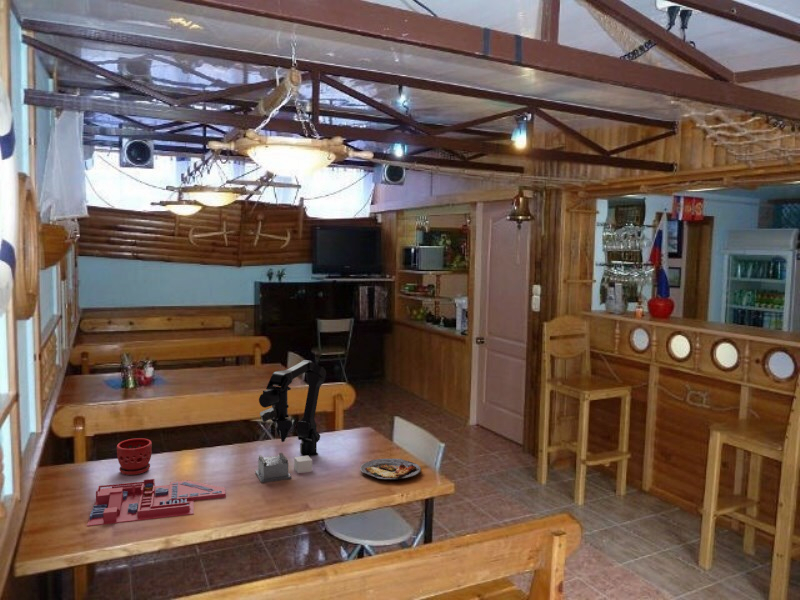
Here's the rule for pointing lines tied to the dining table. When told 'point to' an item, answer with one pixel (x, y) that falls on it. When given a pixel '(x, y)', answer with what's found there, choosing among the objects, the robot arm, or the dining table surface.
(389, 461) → the food plate
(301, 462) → the plain white cube
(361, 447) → the dining table surface
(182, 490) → the red architectural model
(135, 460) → the plant pot
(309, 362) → the robot arm
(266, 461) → the motor housing
